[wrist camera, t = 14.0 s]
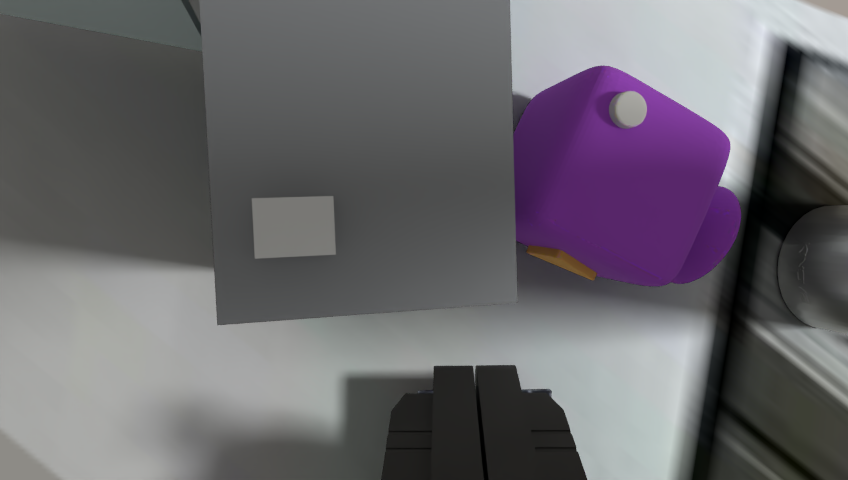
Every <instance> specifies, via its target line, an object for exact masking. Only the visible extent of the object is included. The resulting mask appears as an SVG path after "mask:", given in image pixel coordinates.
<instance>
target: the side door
mask: <svg viewBox="0 0 848 480" xmlns="http://www.w3.org/2000/svg"><path fill="white" fill-rule="evenodd" d="M0 14H4V15H9V16H15V17H20V18H26V19H31V20H36V21H42V22H47V23H52V24H58V25H63V26H68V27H74V28H79V29H84V30H90V31H95V32H101V33H106V34H111V35H117V36H122V37H127V38H133V39H138V40H143V41H149V42H154V43H159V44H165V45H170V46H176V47H181V48H186V49H192V50H197V51H202V38H201V20H200V2H199V0H0Z"/></svg>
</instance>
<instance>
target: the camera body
mask: <svg viewBox="0 0 848 480" xmlns="http://www.w3.org/2000/svg"><path fill="white" fill-rule="evenodd" d="M199 2H200V20H201V38H202V56H203V74H204V92H205V110H206V128H207V146H208V164H209V182H210V200H211V218H212V236H213V254H214V272H215V290H216V308H217V325H226V324H239V323H253V322H266V321H280V320H293V319H307V318H320V317H333V316H347V315H360V314H374V313H387V312H401V311H414V310H428V309H441V308H455V307H468V306H482V305H495V304H509V303H517V263H516V224H515V185H514V145H513V106H512V66H511V27H510V0H199Z"/></svg>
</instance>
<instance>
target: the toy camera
mask: <svg viewBox="0 0 848 480" xmlns="http://www.w3.org/2000/svg"><path fill="white" fill-rule="evenodd" d="M513 145H514V185H515V224H516V241H518V242H520V243H522V244H524V245H526V246H528V249H527V251H526V252H527V253H528V254H530V255H533V256H535V257H537V258H540V259H542V260H544V261H547V262H549V263H552V264H554V265H556V266H559V267H561V268H564V269H566V270H568V271H571V272H573V273H576V274H578V275H580V276H583V277H585V278H587V279H590V280H595V277H596V276H599V277H603V278H608V279H612V280H617V281H622V282H626V283H631V284H637V285H642V286H663V285H666V284H669V283H670V282H672V283H676V284H684V283H689V282H692V281H694V280H697V279H699V278H701V277H702V276H704V275H705V274H707V273H708V272H710V271H711V270H712V269H713V268H714V267H715V266H716V265H717V264H718V263H719V262H720V261H721V260H722V259H723V258H724V257H725V255H726V254H727V253H728V251H729V250H730V248H731V247H732V245H733V243H734V241H735V239H736V237H737V234H738V231H739V227H740V222H741V208H740V204H739V201H738V199H737V197H736V196H735V195H734V193H733V192H731V191H730V190H728V189H726V188H724V187H720V186H718V184H719V182H720V179H721V177H722V174H723V172H724V169H725V166H726V163H727V160H728V157H729V152H730V141H729V139H728V137H727V136H726V135H725V134H724V133H723V132H722V131H721V130H720V129H719V128H717V127H716V126H715V125H713V124H712V123H710V122H708V121H707V120H705V119H704V118H702V117H700V116H699V115H697V114H695V113H694V112H692V111H691V110H689V109H687V108H685V107H684V106H682V105H680V104H679V103H677V102H675V101H673V100H672V99H670V98H668V97H667V96H665V95H663V94H662V93H660V92H658V91H656V90H655V89H653V88H651V87H650V86H648V85H646V84H644V83H643V82H641V81H639V80H638V79H636V78H634V77H632V76H630V75H629V74H627V73H625V72H623V71H621V70H618V69H616V68H613V67H610V66H596V67H592V68H589V69H587V70H585V71H582V72H580V73H578V74H576V75H574V76H572V77H570V78H568V79H566V80H564V81H562V82H560V83H558V84H556V85H554V86H552V87H550V88H548V89H546V90H544V91H542V92H540V93H539V94H537V95H536V96H535V97H534V98H533V99H532V100H531V101H530V103H529V104H528V105H527V107H526V109H525V111H524V113H523V115H522V117H521V119H520V121H519V123H518V125H517V127H516V130H515V132H514V134H513Z"/></svg>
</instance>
